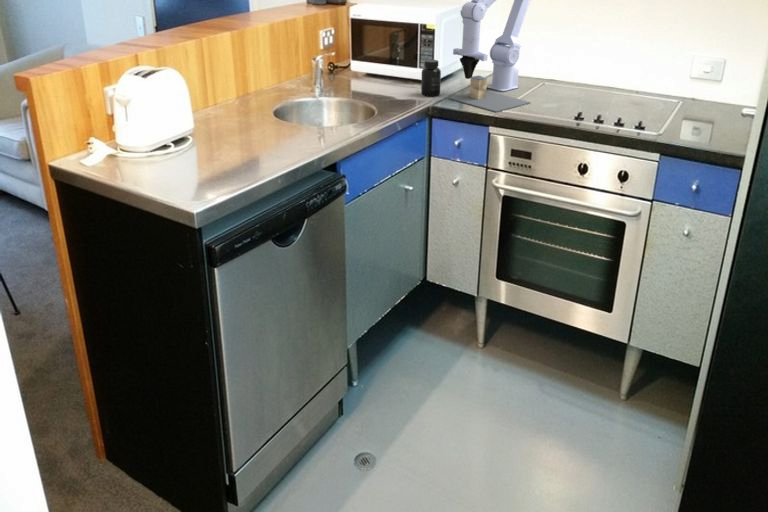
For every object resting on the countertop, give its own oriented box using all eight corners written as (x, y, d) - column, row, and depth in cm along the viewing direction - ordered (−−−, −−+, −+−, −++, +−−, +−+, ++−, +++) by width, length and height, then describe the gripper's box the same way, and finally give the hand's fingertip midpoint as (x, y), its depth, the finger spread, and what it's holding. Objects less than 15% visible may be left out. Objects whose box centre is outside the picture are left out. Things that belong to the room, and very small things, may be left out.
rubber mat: (482, 90, 261) (482, 89, 261) (530, 103, 246) (530, 102, 246) (448, 98, 250) (448, 97, 250) (496, 112, 236) (496, 111, 235)
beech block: (477, 95, 254) (478, 75, 250) (485, 97, 251) (487, 77, 248) (469, 96, 251) (470, 77, 248) (478, 99, 249) (479, 79, 245)
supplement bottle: (440, 92, 258) (441, 59, 252) (439, 97, 252) (441, 63, 246) (421, 91, 258) (422, 58, 253) (420, 96, 252) (421, 62, 247)
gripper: (447, 37, 249) (445, 76, 255) (478, 43, 239) (475, 83, 245) (461, 34, 253) (459, 73, 259) (492, 41, 243) (489, 80, 249)
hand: (468, 78), depth 252 cm, fingers closed
